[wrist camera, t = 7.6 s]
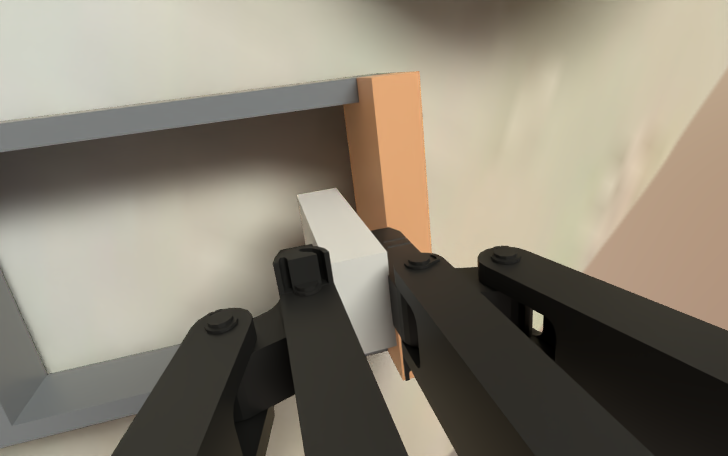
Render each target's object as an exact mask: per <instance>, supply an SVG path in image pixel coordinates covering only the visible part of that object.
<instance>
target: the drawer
mask: <svg viewBox="0 0 728 456" xmlns="http://www.w3.org/2000/svg"><path fill="white" fill-rule="evenodd" d="M336 105H343V108H344V116H345V124H346V132H347V140H348V147H349V155H350V163H351V171H352V179H353V187H354V194H355V202H356V210H357V215H358V216H359V217H360V218H361V220H362V221H363V222H364V224H365V225H366V226H367V227H368V229H369V230H370V231H372V230H377V229H382V228H387V227H390V228H393V229H396V230H398V231H400V232H401V233H402V234H403V235H404V236H405V237H406V238H407V239H408V240H409V241H410V242H411V243H412V244H413V245H414V246H415V247H416V248H417V249H418V250H419V251H420V252H421V253H432V251H431V236H430V221H429V207H428V192H427V177H426V162H425V148H424V133H423V118H422V104H421V89H420V74H419V71H417V72H397V73H377V74H368V75H360V76H353V77H345V78H337V79H329V80H321V81H313V82H306V83H298V84H290V85H282V86H274V87H266V88H259V89H251V90H243V91H235V92H227V93H219V94H211V95H204V96H196V97H188V98H180V99H172V100H164V101H157V102H149V103H141V104H133V105H125V106H117V107H110V108H102V109H94V110H86V111H78V112H70V113H62V114H55V115H47V116H39V117H31V118H23V119H15V120H8V121H0V152H6V151H13V150H20V149H27V148H35V147H42V146H49V145H56V144H63V143H70V142H78V141H85V140H92V139H99V138H106V137H114V136H121V135H128V134H135V133H142V132H149V131H157V130H164V129H171V128H178V127H185V126H193V125H200V124H207V123H214V122H221V121H229V120H236V119H243V118H250V117H257V116H264V115H272V114H279V113H286V112H293V111H300V110H308V109H315V108H322V107H329V106H336ZM395 332H396V342H397V346H394V347H390V348H386V349H382V350H379V351H375V352H371V353H367V354H365V356H369V355H373V354H377V353H381V352H385V351H388V352H389V354H390V356H391V358H392V360H393V362H394V364H395V366H396V368H397V370H398V372H399V374H400V376H401V378H402V380H406V379H405V374H404V365H403V355H402V345H401V337H400V335H399V334H398V332H397V330H396V329H395ZM180 345H181V344H178V345H174V346H170V347H165V348H161V349H156V350H152V351H148V352H143V353H139V354H134V355H130V356H126V357H121V358H117V359H113V360H108V361H104V362H99V363H95V364H91V365H86V366H82V367H77V368H73V369H69V370H64V371H60V372H55V373H51V374H47V372H46V370H45V368H44V366H43V363H42V361H41V359H40V357H39V354H38V352H37V350H36V348H35V345H34V343H33V341H32V339H31V336H30V334H29V332H28V330H27V327H26V325H25V323H24V320H23V318H22V316H21V314H20V311H19V309H18V307H17V305H16V302H15V300H14V298H13V296H12V293H11V291H10V289H9V287H8V284H7V282H6V280H5V278H4V275H3V273H2V271H1V269H0V448H3V447H7V446H11V445H15V444H19V443H23V442H27V441H31V440H35V439H39V438H43V437H47V436H51V435H55V434H59V433H63V432H67V431H71V430H75V429H79V428H83V427H87V426H91V425H95V424H99V423H103V422H107V421H111V420H115V419H119V418H122V417H126V416H130V415H134V414H138V412H139V410H140V409H141V407H142V406H143V404H144V402H145V401H146V399H147V398H148V396H149V394H150V393H151V391H152V390H153V388H154V386H155V385H156V383H157V382H158V380H159V378H160V377H161V375H162V374H163V372H164V370H165V369H166V367H167V366H168V364H169V362H170V361H171V359H172V358H173V356H174V354H175V353H176V351H177V350H178V348H179V346H180ZM409 375H410V378H414V375H413V373H412V371H410V373H409Z"/></svg>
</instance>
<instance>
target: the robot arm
mask: <svg viewBox="0 0 728 456" xmlns="http://www.w3.org/2000/svg"><path fill="white" fill-rule="evenodd" d="M297 200H298V205H299V211H300V217H301V222H302V228H303V233H304V239H305V245H304V246H299V247H294V248H289V249H284V250H280V252H279V253H278V254H277V256H276V257H275V259H274V262H273V266H274V271H275V276H276V280H277V285H278V290H279V295H280V300H279V302H278V303H277V304H276V305H275V306H274V307H273V308H272V309H271V310H269V311H268V312H266V313H264V314H262V315H260V316H257V317H255V318H253V317H252V314H251V313H250V312H249V311H248V310H245V309H241V308H228V309H220V310H216V311H215V312H211V313H209V314H207V315H206V316H204V317H203V318H201V319H200V320H198V321H197V322H196V323H195V324H194V325H193V326H192V327H191V329H190V330H189V332H188V334H187V335H186V337H185V338H184V340H183V342H182V343H181V345H180V346H179V348H178V350H177V351H176V353H175V354H174V356H173V358H172V359H171V361H170V362H169V364H168V366H167V367H166V369H165V370H164V372H163V374H162V375H161V377H160V378H159V380H158V382H157V383H156V385H155V386H154V388H153V390H152V391H151V393H150V394H149V396H148V398H147V399H146V401H145V402H144V404H143V406H142V407H141V409H140V410H139V412H138V414H137V415H136V417H135V418H134V420H133V422H132V423H131V425H130V426H129V428H128V430H127V431H126V433H125V434H124V436H123V438H122V439H121V441H120V442H119V444H118V446H117V447H116V449H115V450H114V452H113V454H112V455H111V456H265V454H266V450H267V446H268V442H269V437H270V433H271V429H272V425H273V420H274V405H276V404H277V403H279V402H281V401H283V400H285V399H287V398H289V397H291V396H292V395H294V394H295V396H296V402H297V408H298V415H299V421H300V427H301V434H302V440H303V446H304V452H305V456H408V454H407V452H406V449H405V447H404V445H403V442H402V440H401V438H400V435H399V433H398V431H397V428H396V426H395V424H394V421H393V419H392V417H391V414H390V412H389V410H388V407H387V405H386V403H385V400H384V398H383V396H382V393H381V391H380V389H379V386H378V384H377V382H376V379H375V377H374V375H373V372H372V370H371V368H370V365H369V363H368V361H367V358H366V356H365V354H367V353H371V352H375V351H379V350H382V349H386V348H390V347H394V346H397V342H396V332H395V329H396V330H397V332H398V334H399V335H400V337H401V345H402V355H403V365H404V374H405V379H406V381H408V380H410V375H409V373H410V371H412V373H413V375H414V377H415V378H416V380H417V382H418V384H419V386H420V388H421V389H422V391H423V393H424V395H425V397H426V398H427V400H428V402H429V404H430V406H431V407H432V409H433V411H434V413H435V415H436V417H437V418H438V420H439V422H440V424H441V426H442V427H443V429H444V431H445V433H446V435H447V436H448V438H449V440H450V442H451V444H452V446H453V447H454V449H455V451H456V453H457V455H458V456H728V331H727V330H725V329H722V328H719V327H717V326H715V325H712V324H710V323H707V322H705V321H702V320H700V319H697V318H695V317H692V316H689V315H687V314H684V313H682V312H679V311H677V310H674V309H672V308H669V307H667V306H664V305H662V304H659V303H657V302H654V301H652V300H649V299H647V298H644V297H642V296H639V295H637V294H634V293H631V292H629V291H626V290H624V289H622V288H619V287H616V286H614V285H612V284H609V283H606V282H604V281H602V280H599V279H596V278H594V277H591V276H589V275H586V274H584V273H581V272H579V271H576V270H574V269H571V268H569V267H566V266H564V265H561V264H559V263H556V262H554V261H551V260H549V259H546V258H544V257H541V256H539V255H536V254H534V253H531V252H529V251H526V250H523V249H519V248H515V247H509V246H501V247H500V246H496V247H494V248H490V249H486V250H484V251H483V252H481V253H480V254H479V256H478V267H471V268H454V267H453V266H452V265H451V264H450V263H448V262H447V261H446V260H445V259H444V258H443V257H441V256H439V255H437V254H433V253H421V252H420V251H419V250H418V249H417V248H416V247H415V246H414V245H413V244H412V243H411V242H410V241H409V240H408V239H407V238H406V237H405V236H404V235H403V234H402V233H401V232H400V231H398V230H396V229H393V228H390V227H387V228H382V229H377V230H372V231H370V230H369V229H368V227H367V226H366V225H365V224H364V222H363V221H362V220H361V218H360V217H359V216H358V215H357V213H356V212H355V211H354V210H353V208H352V207H351V206H350V205H349V203H348V202H347V201H346V200H345V198H344V197H343V196H342V195H341V193H340V192H339V191H338V190H337V188H332V189H326V190H321V191H315V192H310V193H304V194H298V195H297ZM533 310H535V311H537V312H538V313H540V314H542V315H544V320H543V331H542V332H539V331H537V330H535V329H534V328H532V319H533Z"/></svg>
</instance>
